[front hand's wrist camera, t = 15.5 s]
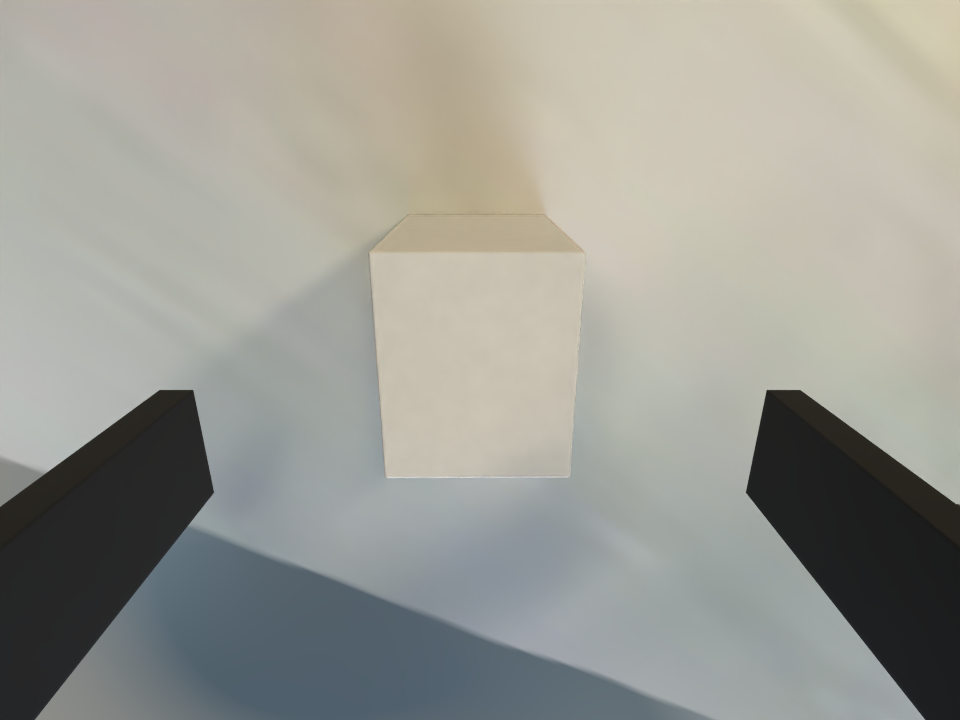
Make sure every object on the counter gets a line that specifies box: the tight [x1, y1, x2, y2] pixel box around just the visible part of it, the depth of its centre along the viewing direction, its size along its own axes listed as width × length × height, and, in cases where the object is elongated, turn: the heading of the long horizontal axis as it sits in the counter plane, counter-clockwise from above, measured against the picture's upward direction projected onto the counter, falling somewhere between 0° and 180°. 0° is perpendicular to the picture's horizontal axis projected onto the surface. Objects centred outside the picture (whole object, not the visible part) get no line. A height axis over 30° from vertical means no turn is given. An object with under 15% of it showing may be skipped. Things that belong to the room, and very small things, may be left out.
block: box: [369, 215, 586, 478], centre depth 20 cm, size 7×6×9 cm
